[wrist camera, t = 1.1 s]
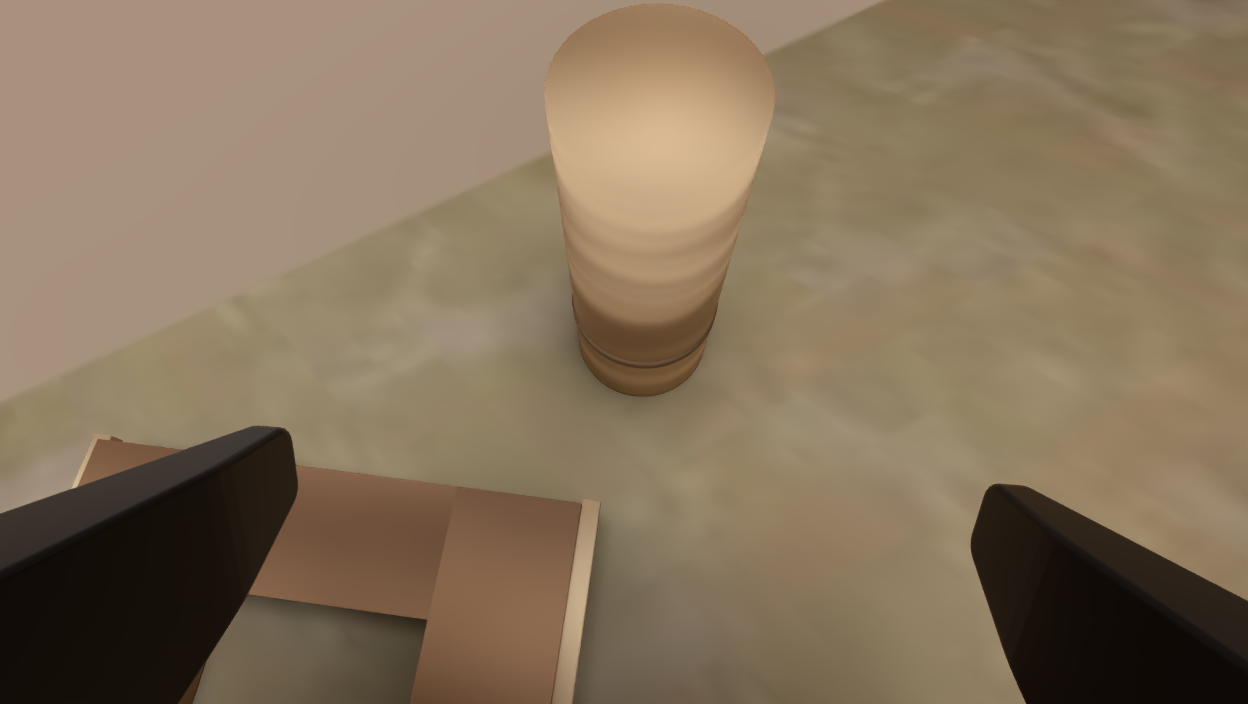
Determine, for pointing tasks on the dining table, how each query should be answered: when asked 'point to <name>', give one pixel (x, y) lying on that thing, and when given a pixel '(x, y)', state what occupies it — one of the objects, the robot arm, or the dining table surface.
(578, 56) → the peg
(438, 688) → the socket board
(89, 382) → the dining table surface
